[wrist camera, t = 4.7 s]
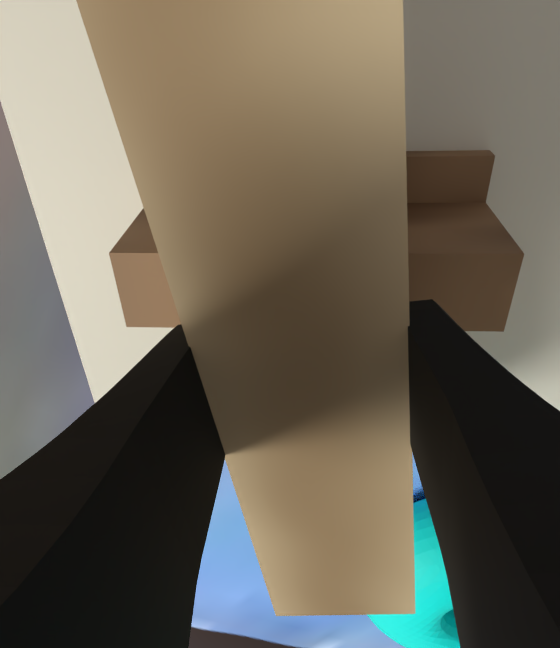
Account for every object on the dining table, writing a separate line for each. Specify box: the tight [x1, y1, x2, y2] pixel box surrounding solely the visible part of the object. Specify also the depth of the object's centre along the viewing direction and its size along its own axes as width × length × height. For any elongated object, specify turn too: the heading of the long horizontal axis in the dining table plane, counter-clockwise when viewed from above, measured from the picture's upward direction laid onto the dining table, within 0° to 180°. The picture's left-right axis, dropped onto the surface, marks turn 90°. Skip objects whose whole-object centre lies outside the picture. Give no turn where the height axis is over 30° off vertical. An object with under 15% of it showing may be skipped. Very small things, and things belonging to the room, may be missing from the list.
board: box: [0, 0, 560, 411], centre depth 15 cm, size 18×14×1 cm
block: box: [109, 150, 524, 332], centre depth 13 cm, size 9×4×4 cm, turn 92°
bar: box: [76, 0, 415, 616], centre depth 10 cm, size 4×16×4 cm, turn 9°
